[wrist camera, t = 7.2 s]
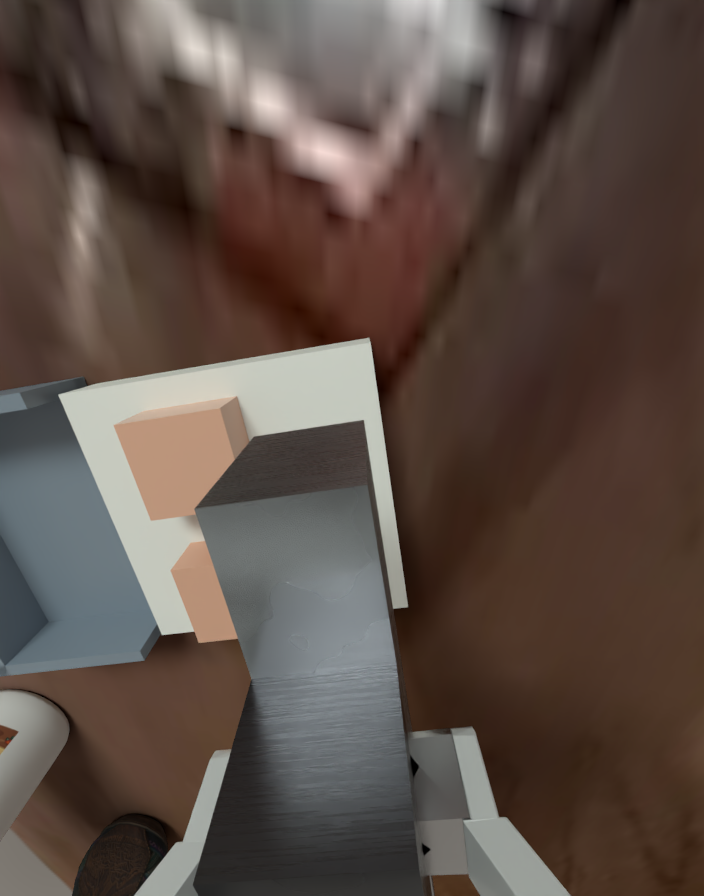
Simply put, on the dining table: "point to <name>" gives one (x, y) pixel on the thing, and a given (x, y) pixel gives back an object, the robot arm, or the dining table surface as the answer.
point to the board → (264, 412)
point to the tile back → (202, 594)
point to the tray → (60, 548)
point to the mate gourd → (121, 858)
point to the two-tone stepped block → (311, 679)
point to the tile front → (181, 452)
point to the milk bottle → (26, 748)
